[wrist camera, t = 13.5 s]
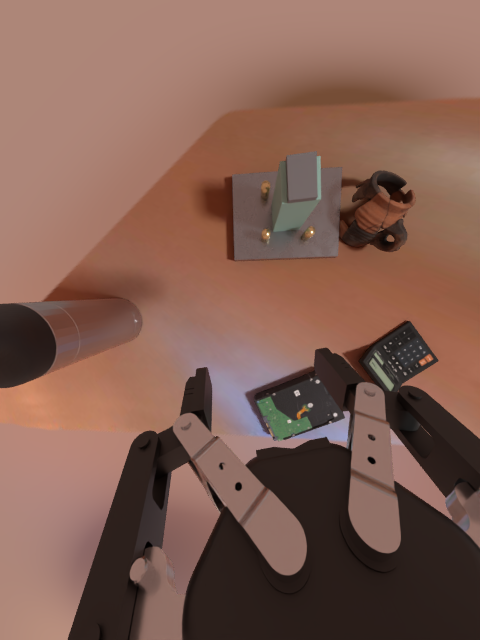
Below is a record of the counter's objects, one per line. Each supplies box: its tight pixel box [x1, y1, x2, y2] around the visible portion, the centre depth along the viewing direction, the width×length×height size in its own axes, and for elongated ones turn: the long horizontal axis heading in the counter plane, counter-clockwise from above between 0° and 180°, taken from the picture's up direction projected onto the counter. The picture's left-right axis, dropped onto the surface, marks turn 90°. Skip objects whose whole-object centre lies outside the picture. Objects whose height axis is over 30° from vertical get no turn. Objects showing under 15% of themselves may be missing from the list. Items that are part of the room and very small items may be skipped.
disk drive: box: [255, 371, 345, 441], centre depth 39 cm, size 10×3×15 cm
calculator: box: [359, 321, 438, 392], centre depth 36 cm, size 9×12×3 cm
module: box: [272, 151, 321, 232], centre depth 27 cm, size 4×5×12 cm
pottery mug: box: [339, 171, 416, 252], centre depth 31 cm, size 12×10×8 cm
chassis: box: [232, 167, 342, 261], centre depth 32 cm, size 18×14×4 cm
